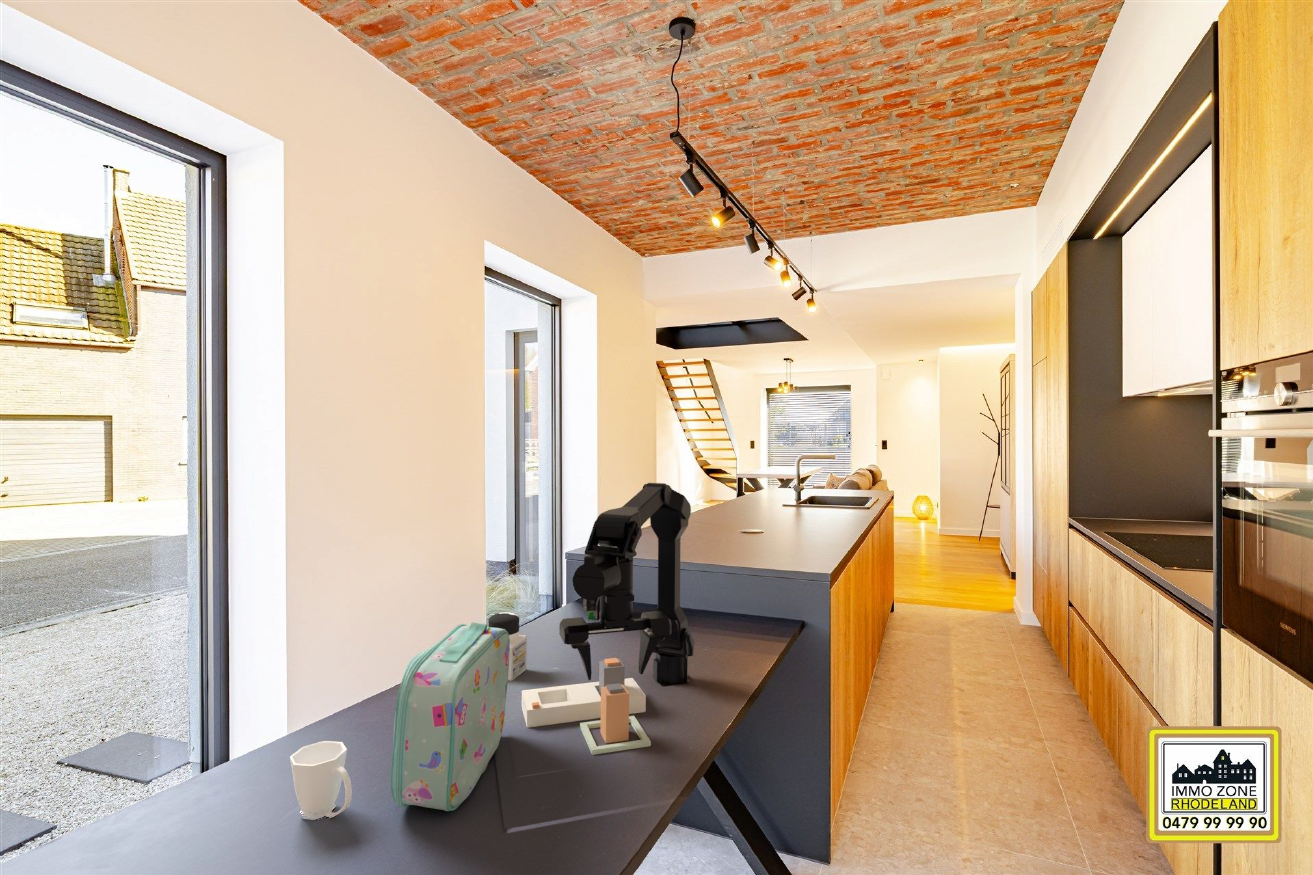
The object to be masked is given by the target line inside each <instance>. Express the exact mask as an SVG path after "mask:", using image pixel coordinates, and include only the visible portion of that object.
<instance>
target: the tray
mask: <svg viewBox="0 0 1313 875" xmlns="http://www.w3.org/2000/svg"><path fill="white" fill-rule="evenodd" d="M600 721H601V719H600V720H599V719H598V720H590V721H584V722H579V728H580V730H581V731H580V732H581V733H582V735H583V737H584V739H585V742H586V744H587V746H588V749H589V751H590V754H591V755H592V756H595V755H599V754H606V753H612V752H613V753H614V752H620V751H621V752H622V751H626V750H633V749H641V748H647V747H651V745H652V741H651V739H650V737H648V735H647V733H646V731H645V730H644V728H643V727H642V725H641V724H640V723H639V721H638V720H637V718H636V717H635V715H629V724H631V727H632V728H633V730H634V731H635V733H636V735H637V736H638V737H639V740H632V741H631V740H630V741H625V742H624V741H622V742H619V743H618V742H615V743H609V744H603V745H598V746H597V744H596V741H595V739H594V737H593V735H592V733H591V731H590V729H595V728H596V729H597V728H600Z"/></svg>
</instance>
